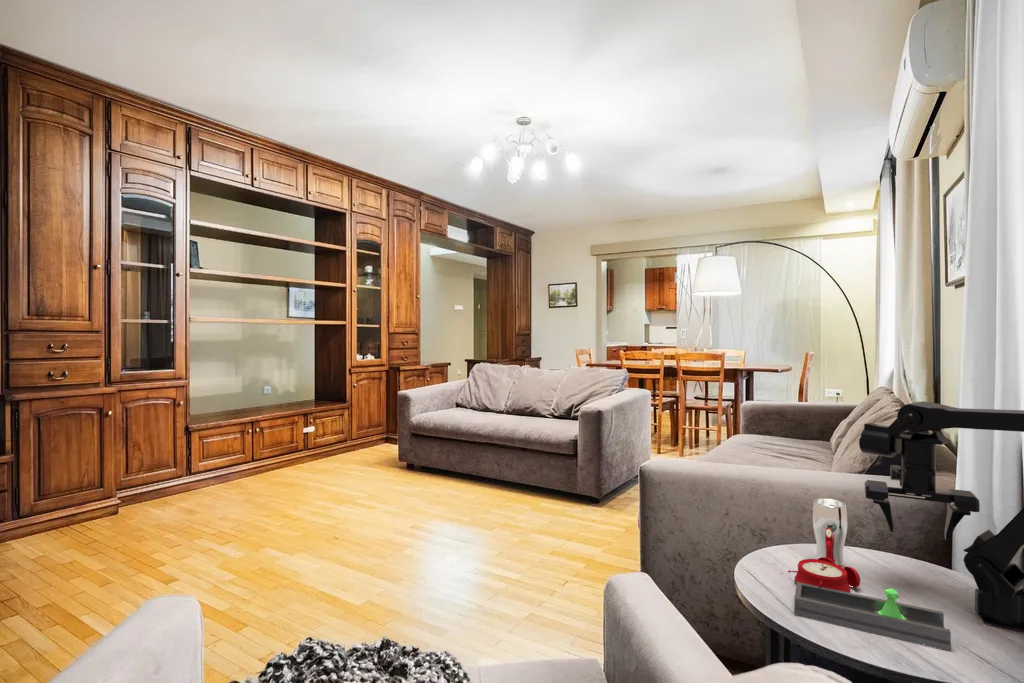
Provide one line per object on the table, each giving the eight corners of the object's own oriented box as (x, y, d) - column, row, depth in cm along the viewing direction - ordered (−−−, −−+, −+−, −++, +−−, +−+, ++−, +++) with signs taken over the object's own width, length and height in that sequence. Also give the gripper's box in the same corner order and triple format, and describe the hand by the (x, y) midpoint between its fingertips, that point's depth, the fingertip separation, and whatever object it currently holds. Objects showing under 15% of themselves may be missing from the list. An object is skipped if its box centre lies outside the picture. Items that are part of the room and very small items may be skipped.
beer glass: (834, 575, 120) (834, 509, 119) (806, 562, 126) (805, 500, 126) (854, 568, 122) (854, 504, 122) (826, 557, 129) (825, 496, 128)
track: (941, 625, 99) (941, 609, 99) (951, 651, 91) (951, 634, 91) (796, 594, 112) (796, 580, 111) (794, 614, 104) (794, 599, 104)
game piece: (906, 618, 100) (906, 587, 100) (904, 628, 97) (904, 596, 96) (879, 610, 103) (879, 580, 102) (876, 620, 99) (876, 589, 99)
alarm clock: (780, 565, 116) (823, 539, 122) (784, 592, 117) (827, 564, 123) (826, 586, 107) (870, 556, 113) (830, 614, 108) (874, 583, 114)
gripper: (967, 458, 113) (967, 530, 113) (863, 449, 123) (863, 516, 123) (980, 471, 104) (980, 549, 104) (865, 460, 113) (866, 532, 114)
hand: (918, 535), depth 111 cm, fingers open, 9 cm apart
